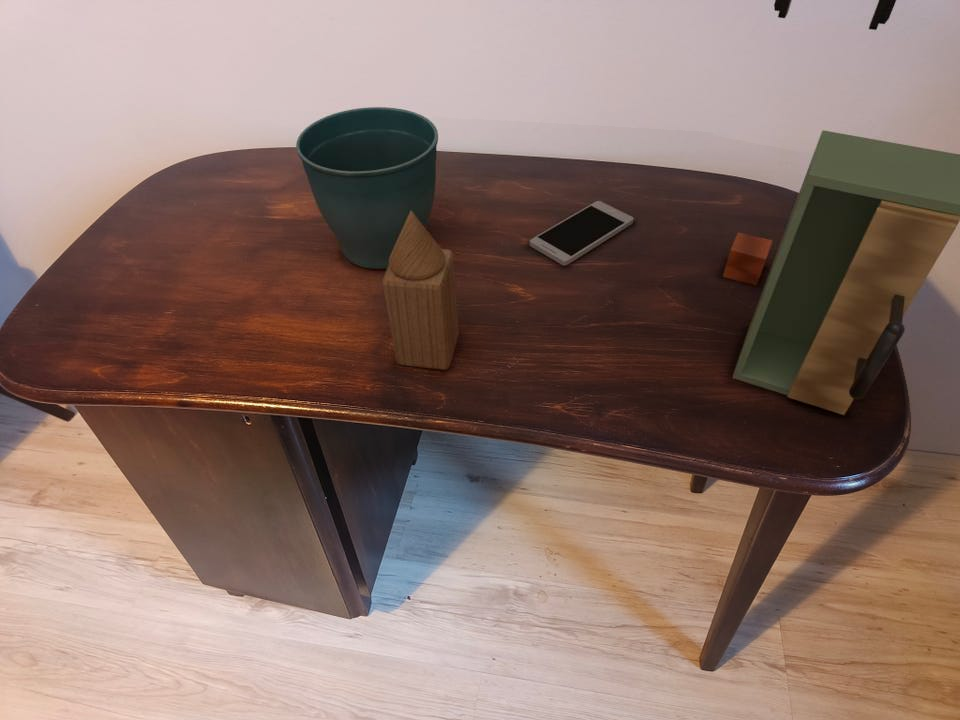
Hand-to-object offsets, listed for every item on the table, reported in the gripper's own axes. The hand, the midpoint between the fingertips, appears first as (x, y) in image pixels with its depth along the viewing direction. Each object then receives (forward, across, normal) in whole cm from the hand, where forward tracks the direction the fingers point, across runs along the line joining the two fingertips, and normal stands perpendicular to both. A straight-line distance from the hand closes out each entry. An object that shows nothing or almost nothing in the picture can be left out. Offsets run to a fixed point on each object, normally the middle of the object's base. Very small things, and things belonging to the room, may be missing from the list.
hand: (827, 21), depth 64 cm
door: (+31, +12, -24) cm, 41 cm away
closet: (+32, +9, -16) cm, 37 cm away
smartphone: (+32, -23, -1) cm, 39 cm away
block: (+32, 0, 0) cm, 32 cm away
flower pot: (+32, -48, -16) cm, 60 cm away
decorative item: (+32, -31, -32) cm, 55 cm away
